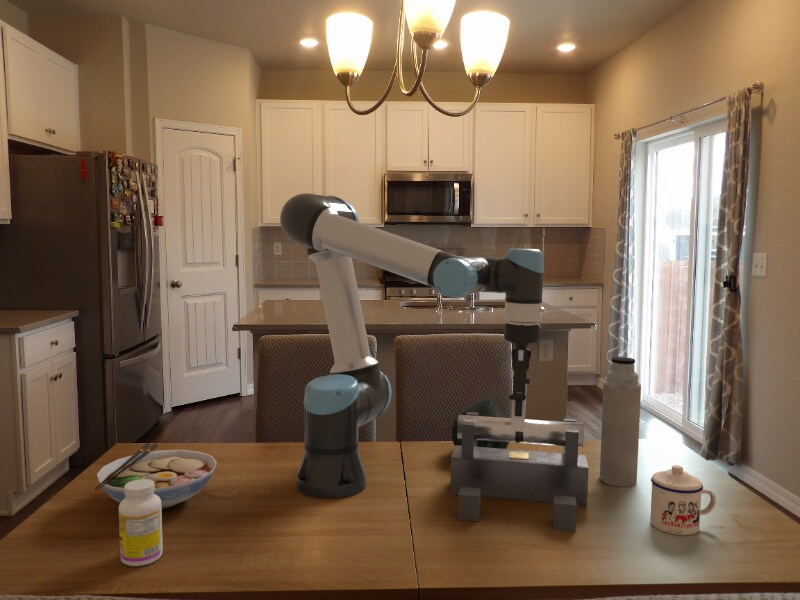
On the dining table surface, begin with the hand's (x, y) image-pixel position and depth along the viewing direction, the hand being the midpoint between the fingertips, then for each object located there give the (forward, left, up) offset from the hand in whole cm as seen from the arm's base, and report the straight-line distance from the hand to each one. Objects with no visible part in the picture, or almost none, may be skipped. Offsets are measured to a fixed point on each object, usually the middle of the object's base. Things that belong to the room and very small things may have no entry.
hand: (518, 421), depth 136 cm
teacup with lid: (+31, -10, -16) cm, 36 cm away
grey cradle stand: (0, 0, -15) cm, 15 cm away
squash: (-10, +22, -16) cm, 29 cm away
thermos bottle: (+22, +12, -16) cm, 30 cm away
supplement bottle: (-61, -44, -16) cm, 76 cm away
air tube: (0, 0, -4) cm, 4 cm away
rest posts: (0, -15, -15) cm, 21 cm away
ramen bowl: (-71, -23, -16) cm, 76 cm away
